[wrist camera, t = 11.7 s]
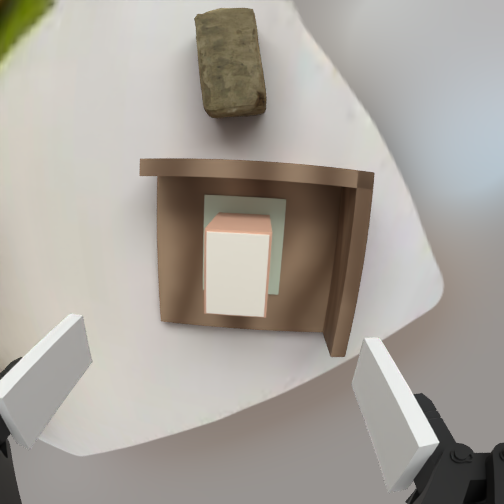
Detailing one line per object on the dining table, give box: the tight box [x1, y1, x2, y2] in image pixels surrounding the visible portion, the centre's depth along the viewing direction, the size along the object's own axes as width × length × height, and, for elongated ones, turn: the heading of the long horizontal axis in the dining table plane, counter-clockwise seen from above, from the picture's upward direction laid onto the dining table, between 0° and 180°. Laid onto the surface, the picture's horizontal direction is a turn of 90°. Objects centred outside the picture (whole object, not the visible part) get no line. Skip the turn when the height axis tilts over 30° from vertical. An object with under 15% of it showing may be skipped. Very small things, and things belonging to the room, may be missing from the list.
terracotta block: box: [204, 212, 272, 318], centre depth 28 cm, size 7×5×8 cm
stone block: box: [194, 8, 266, 118], centre depth 26 cm, size 6×12×5 cm, turn 8°
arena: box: [140, 159, 374, 357], centre depth 30 cm, size 20×18×6 cm
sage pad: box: [203, 195, 286, 295], centre depth 32 cm, size 8×10×1 cm
